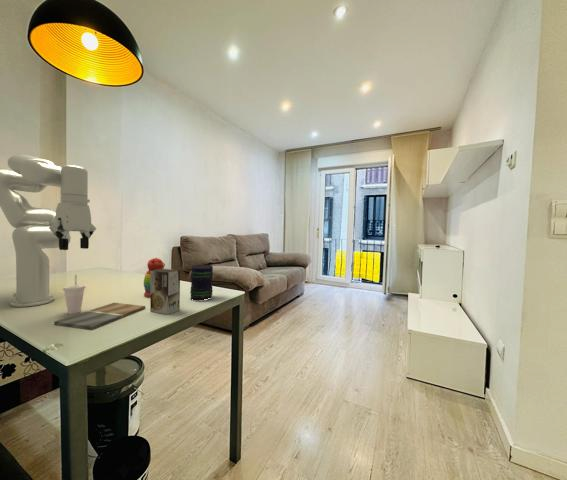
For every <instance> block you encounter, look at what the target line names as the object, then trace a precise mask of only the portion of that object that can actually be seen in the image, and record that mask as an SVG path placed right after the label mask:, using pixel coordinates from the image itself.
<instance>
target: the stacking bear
mask: <svg viewBox="0 0 567 480" xmlns="http://www.w3.org/2000/svg"><path fill="white" fill-rule="evenodd" d="M146 265H147V269H148V270H147V271H146V272H145V274H144V278H143V287H144V293H143V296H144V297H145V298H148V299H150V271H152V270H157V269H162V268H163V269H165V266H166V264H165V263H164V262H163V261H162V259H160V258H157V257H154V258H151V259H149V260H148V261H147V264H146Z"/></svg>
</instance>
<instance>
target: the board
mask: <svg viewBox="0 0 567 480" xmlns="http://www.w3.org/2000/svg"><path fill="white" fill-rule="evenodd" d="M145 309H146V305H138V304H130V303H129V304H128V303H123V302H122V303H119V302H112V303H108V304H105V305H102V306H99V307H96V308H93V309H89V310H86V311H83V312H79V313H75V314H73V315H70V316H67V317H64V318H61V319H58V320H55V321H54V322H53V323H54V324H53V325H56V326H63V327H70V328H76V329H85V330H95V329H98V328H101V327H103V326H105V325H108V324H111V323H113V322H115V321H117V320H120V319H122V318H125V317H127V316H130V315H132V314H135V313H137V312H140V311H143V310H145Z"/></svg>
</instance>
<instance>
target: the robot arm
mask: <svg viewBox="0 0 567 480" xmlns="http://www.w3.org/2000/svg"><path fill="white" fill-rule="evenodd" d="M7 166H8V168H9V169H8V168H2V167H1V168H0V209H1V211H2V212H3V215H4V216H5V218H6V220H7V222H8V223H9V224H10V226H12V228H14V230H13V231H12V233H11V235H12V236H11V239H12V243H13V247H14V252H15V253H14V254H15V270H16V271H15V273H16V275H15V276H16V277H15V279H16V280H15V281H16V284H15V285H16V287H15V290H16V291H15V293H13V294H12V297H15V300H13V301H11V302H10V306H11V307H15V308H24V307H25V308H26V307H34V306H40V305H45V304H49V303H52V302H53V301H55V296H53V295H50V259H49V256H48V255H47V254H46V253H45V252H44V250H43V249H59V250H60V251H68V250H69V244H70V243H71V234H70V233H71V232H79V233H80V236H81V237H80V239H79V240H80V242H79V245H80V246H79V248H80V249H84V250H86V249H87V250H88V249H89V248H90V247H89V245H90V241H89V240H90V238H91V237H92V235H93V234H94V232H96V230H97V228H96V226H94V224H93V223H92V215H91V209H90V205H88V203H90V199H89V197H88V193H89V192H88V190H89V189H88V187H89V186H88V184H89V182H88V180H89V179H88V176H89V175H88V170H87V168H85V167H82V166H80V165H71V164H64V165H62V166H59V165H56V164H55V163H54V162H53V161H51V160H48V159H44V158H40V157H36V156H33V155H27V154H21V153H20V154H19V153H18V154H13V155H11V156H9V158H8V159H7ZM48 186H51V187H55V188H56V187H57V188H60V202H58V203H57V206H56V208H55V210H56V211H55V210H54V209H51V208H45V207H35V206H32V205H31V204H30V203H29V201H28V200H27V198H25V196H23V195H22V194H20V193H19V192H27V193H35V194H36V193H40V192H42V191H43V190H45V189H46V187H48ZM17 191H18V192H17Z"/></svg>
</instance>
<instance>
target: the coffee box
mask: <svg viewBox="0 0 567 480" xmlns="http://www.w3.org/2000/svg"><path fill="white" fill-rule="evenodd" d="M180 296H181V269H173V268H162V269H157V270H152V271H150V298H149V299H150V302H149V303H150V309H149V310H150V312H151V313H158V314H163V315H171V314H173V313H176V312H179V311H180V302H181V301H180V300H181V297H180Z"/></svg>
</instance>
